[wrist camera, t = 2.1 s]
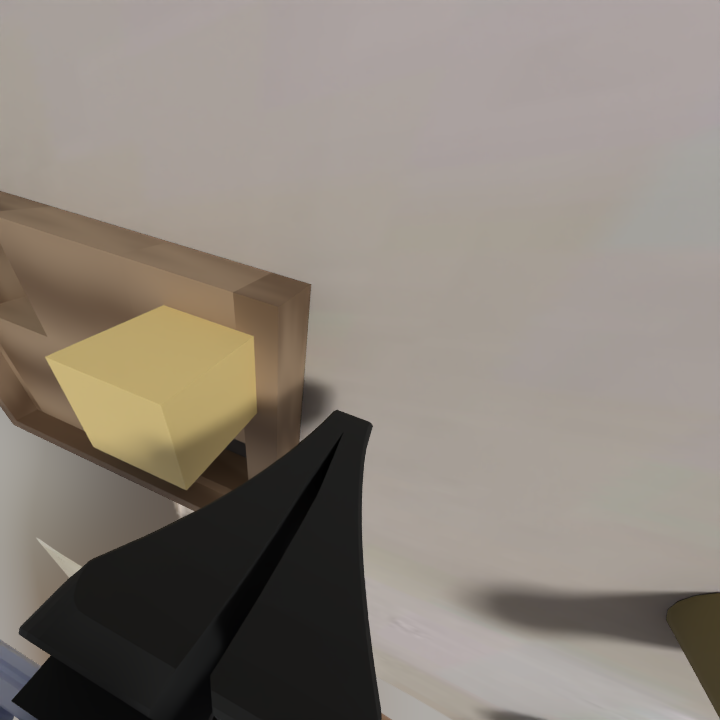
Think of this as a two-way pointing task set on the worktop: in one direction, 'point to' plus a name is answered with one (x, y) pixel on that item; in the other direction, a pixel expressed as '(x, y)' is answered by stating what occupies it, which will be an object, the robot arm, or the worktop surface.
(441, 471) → the worktop surface
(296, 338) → the board
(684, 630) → the cork
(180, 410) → the ochre block
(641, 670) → the worktop surface
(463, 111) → the worktop surface
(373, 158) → the worktop surface
